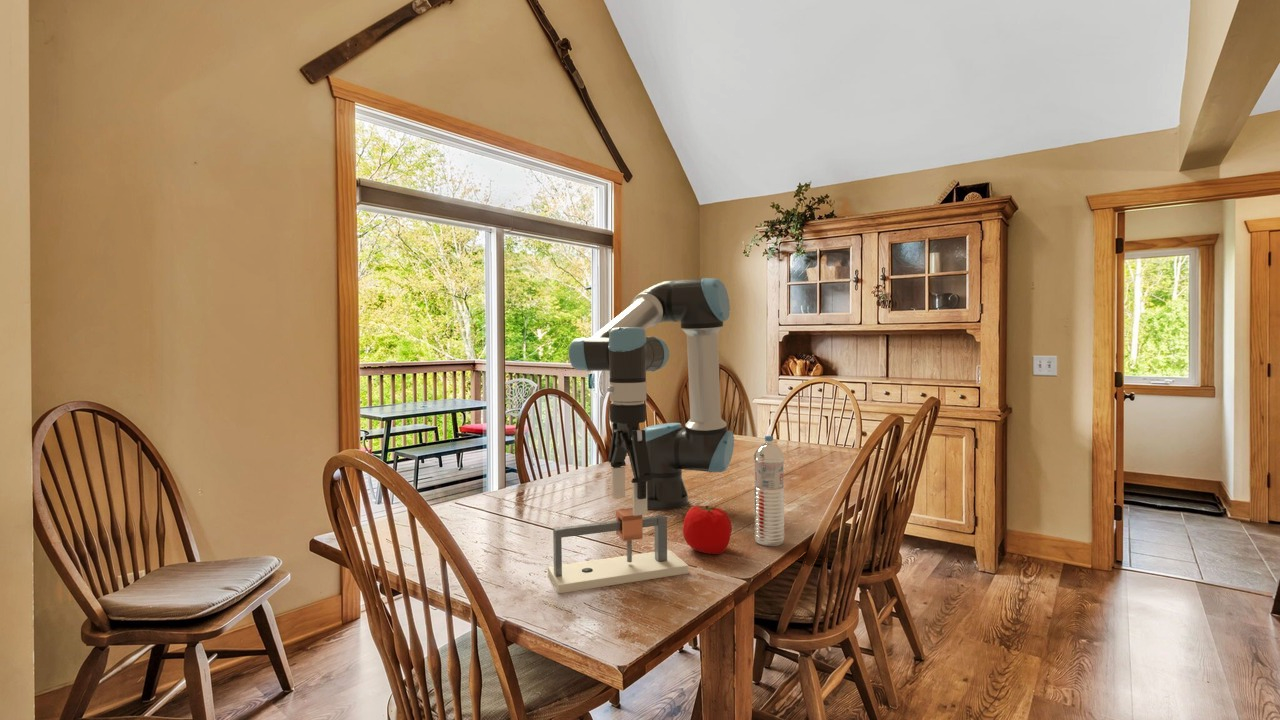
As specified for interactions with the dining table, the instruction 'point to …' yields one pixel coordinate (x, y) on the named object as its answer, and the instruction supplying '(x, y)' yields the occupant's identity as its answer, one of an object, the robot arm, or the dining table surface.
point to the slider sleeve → (629, 528)
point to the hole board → (615, 571)
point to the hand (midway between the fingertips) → (628, 505)
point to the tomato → (707, 529)
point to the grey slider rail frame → (609, 526)
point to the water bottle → (769, 494)
